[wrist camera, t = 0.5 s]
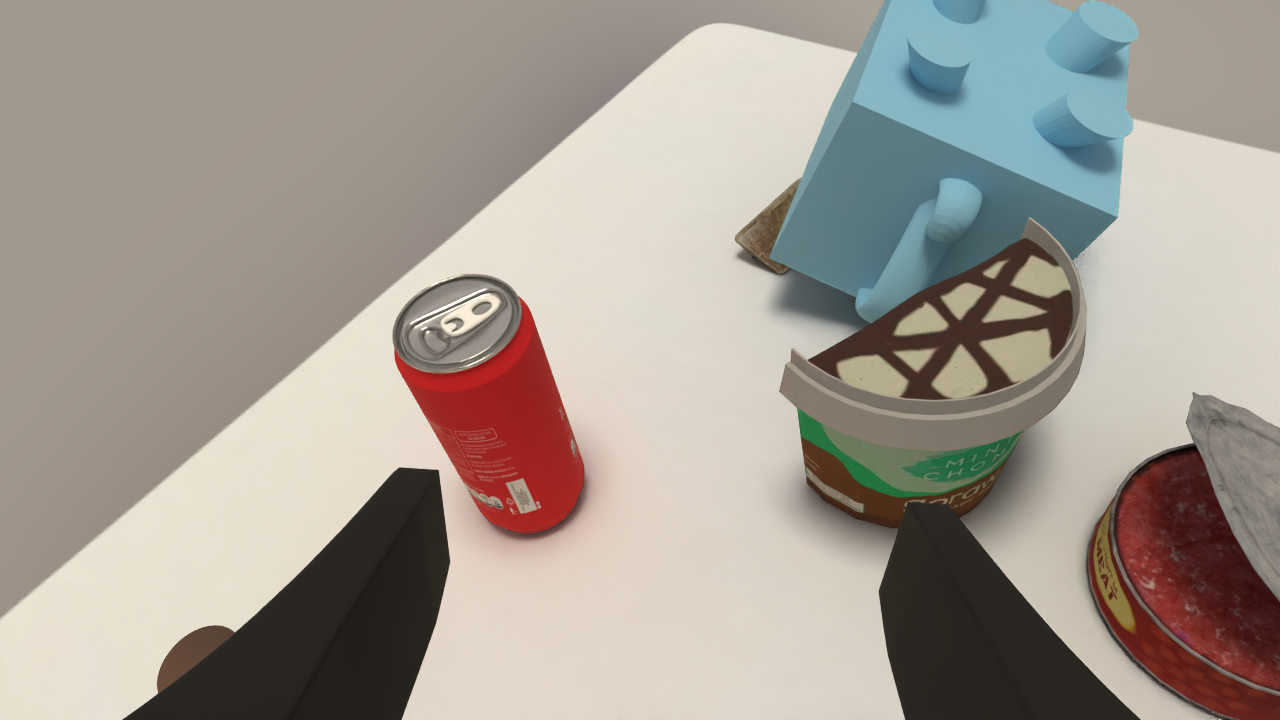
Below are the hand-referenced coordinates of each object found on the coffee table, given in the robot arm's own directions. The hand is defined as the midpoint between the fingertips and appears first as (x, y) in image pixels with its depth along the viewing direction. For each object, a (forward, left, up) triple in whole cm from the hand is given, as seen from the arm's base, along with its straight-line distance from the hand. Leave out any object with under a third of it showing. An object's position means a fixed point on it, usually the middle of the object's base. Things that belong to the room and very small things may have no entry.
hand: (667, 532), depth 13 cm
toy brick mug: (+30, -10, -7) cm, 32 cm away
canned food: (+10, -18, -21) cm, 29 cm away
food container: (+14, -8, -21) cm, 26 cm away
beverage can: (+12, +10, -21) cm, 26 cm away
